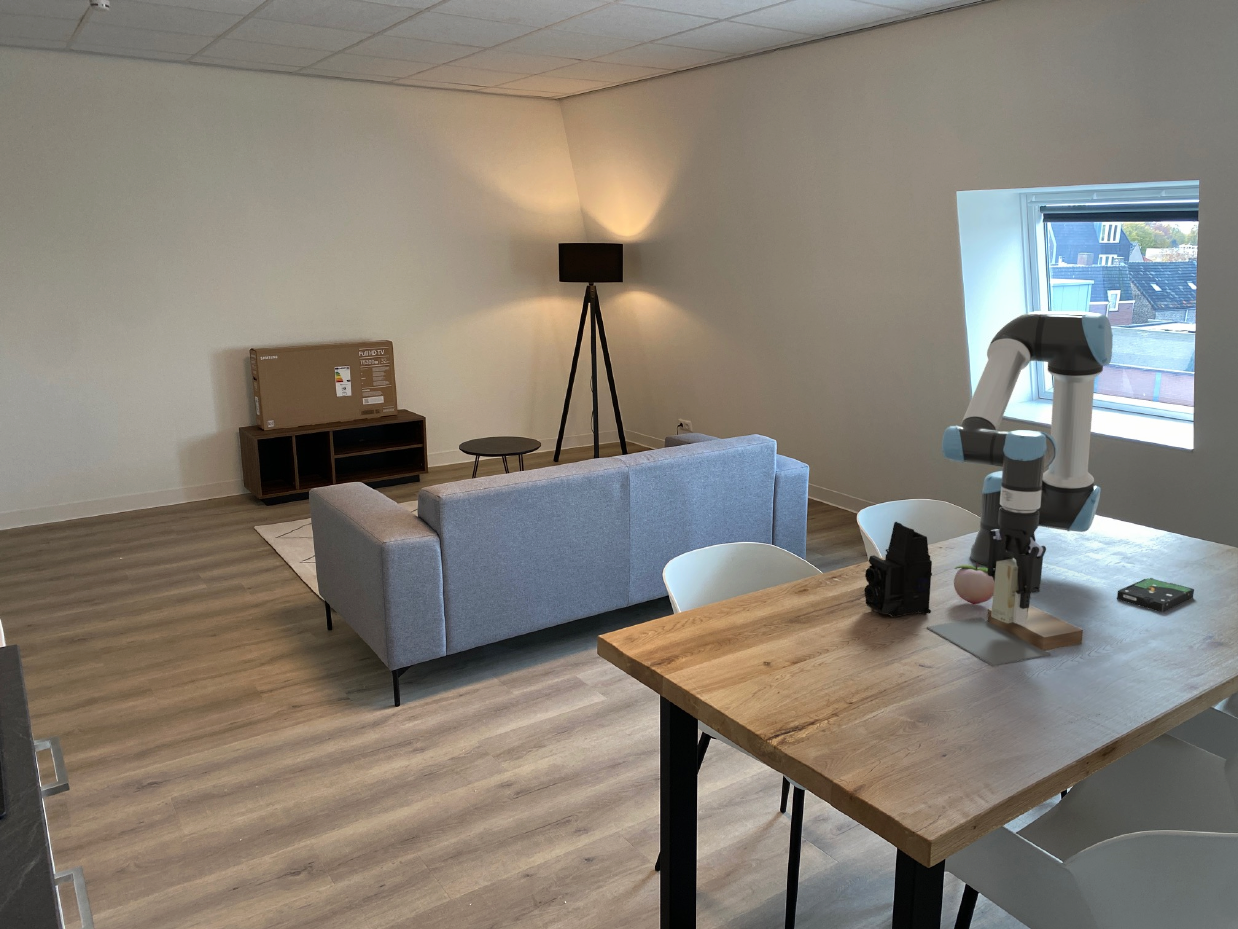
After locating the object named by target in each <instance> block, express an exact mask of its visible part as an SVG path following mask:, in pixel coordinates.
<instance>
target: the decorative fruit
mask: <svg viewBox="0 0 1238 929" xmlns="http://www.w3.org/2000/svg"><path fill="white" fill-rule="evenodd" d="M978 564H979V563H978V562H976V563H975V566H973V565H971V564H960V565H958V566H955V568H954V570H957V569H959V570H957V572H956V573H955V575H954V578H953V587H954V590H955V591H956V594H957V595H958V597H959V598H960V599H962V600H963V601H966V602H967V603H970V604H971V605H979V604H983V603H984V602H987V601H989V600H990V599H991V598H993V592H994V582H995V581H994V580H993V577H992V576H988V574H987V572H988V567H978Z"/></svg>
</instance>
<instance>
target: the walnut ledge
mask: <svg viewBox="0 0 1238 929" xmlns="http://www.w3.org/2000/svg"><path fill="white" fill-rule="evenodd" d="M991 612H992V608H988V609H987V617H986V618H987V619H986V621H988V622H990V623H992V624H994V625H996V626H998V627H1000V628H1002V629H1004V630H1006V631H1008V632H1010V633H1011V634H1013V635H1015V636H1017V637H1019V638H1021V639H1023V640H1025V641H1027V642H1029V643H1031V644H1033V645H1035V646H1036V647H1038V648H1040V649H1042V650H1044V651H1046V652H1048V651H1051V650H1057V649H1061V648H1068V647H1072V646H1077V645H1082V644H1083V638H1084V637H1083V635H1084V629H1083V628H1080V627H1078V626H1076V625H1073V624H1071V623H1069V622H1067V621H1065V620H1063V619H1060V618H1058V617H1056V616H1054V615H1052V614H1050V613H1048V612H1045V611H1044V610H1041V609H1039V608H1037V607H1035V606H1033V605H1031V604H1030V606H1029V608H1028V617H1027V619H1026V622H1020V623H1014V622H1011V623H1005V622H1003V621H1000V620H998V619H995V618H993V617H991Z"/></svg>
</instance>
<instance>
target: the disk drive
mask: <svg viewBox="0 0 1238 929" xmlns="http://www.w3.org/2000/svg"><path fill="white" fill-rule="evenodd" d="M1194 592H1195V589H1194V588H1193V587H1192V588H1191V587H1188V586H1184V585H1182V584H1181V585H1179V584H1176V583H1173V582H1166V581H1162V580H1159V579H1155V578H1153V577H1148V578H1144V579H1142V580H1140V581H1136V582H1134V583H1133V584H1130V585H1128V586H1125V587H1123V588H1120V589H1119V590H1117V594H1116V595H1117V596H1116V599H1119V600H1118V601H1121V600H1122V602H1124V601H1125V603H1128V602H1129V603H1128V604H1132V605H1135V606H1138V605H1140V606H1139V607H1142V608H1145V609H1148V608H1149V610H1153V611H1155V610H1156V611H1155V612H1159V613H1164V612H1167V611H1169V610H1172V608H1175V607H1177V606H1180V605H1181V604H1183V603H1185V602H1187V601H1190V600H1192V599H1193V598H1194V595H1195V594H1194Z"/></svg>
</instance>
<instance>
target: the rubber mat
mask: <svg viewBox="0 0 1238 929" xmlns="http://www.w3.org/2000/svg"><path fill="white" fill-rule="evenodd" d="M926 628H927V630H929V631H931V632H933V633H935V634H937V635H938V636H940V637H942V638H943V639H945V640H947V641H949V642H951V643H952V644H954V645H956V646H958V647H959V648H961V649H963V650H964V651H966V652H968V653H970V654H971V655H973V656H975V657H976V658H978V659H980V660H982V661H983V662H984V663H987V664H988V665H990V666H992V667H996V666H1002V665H1005V664H1006V665H1007V664H1011V663H1016V662H1017V663H1018V662H1022V661H1027V660H1033V659H1037V658H1043V657H1044V658H1045V657H1048V656H1051V653H1050V652H1048V651H1044V650H1042V649H1040V648H1038V647H1036V646H1035V645H1033V644H1031V643H1029V642H1027V641H1025V640H1023V639H1021V638H1019V637H1017V636H1015V635H1013V634H1011V633H1010V632H1008V631H1006V630H1004V629H1002V628H1000V627H998V626H996V625H994V624H992V623H990V622H988V621H987V619H984V618H983V617H975V618H970V619H964V620H963V619H962V620H958V621H952V622H947V623H940V624H935V625H930V626H929V625H928V626H926Z"/></svg>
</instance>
